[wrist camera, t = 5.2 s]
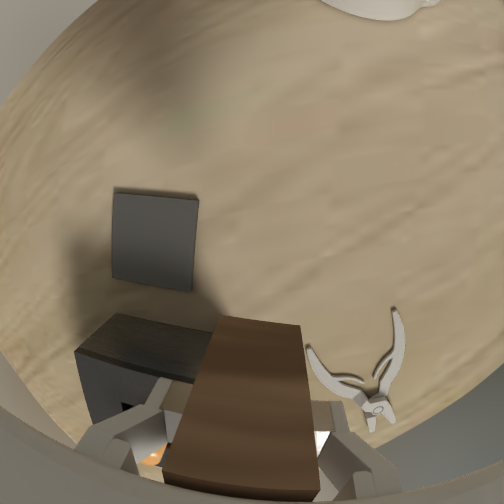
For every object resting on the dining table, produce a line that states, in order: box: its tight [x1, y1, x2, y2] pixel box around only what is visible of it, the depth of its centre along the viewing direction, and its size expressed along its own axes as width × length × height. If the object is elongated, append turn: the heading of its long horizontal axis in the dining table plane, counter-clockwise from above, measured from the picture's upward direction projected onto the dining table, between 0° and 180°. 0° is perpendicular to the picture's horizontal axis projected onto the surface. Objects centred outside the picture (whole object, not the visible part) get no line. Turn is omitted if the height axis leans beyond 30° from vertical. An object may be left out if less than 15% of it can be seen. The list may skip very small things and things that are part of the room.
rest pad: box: [112, 193, 199, 292], centre depth 25 cm, size 8×8×1 cm
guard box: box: [74, 313, 213, 467], centre depth 24 cm, size 13×13×8 cm
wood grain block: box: [162, 315, 320, 502], centre depth 9 cm, size 4×4×8 cm
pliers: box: [306, 309, 405, 432], centre depth 27 cm, size 10×2×15 cm
